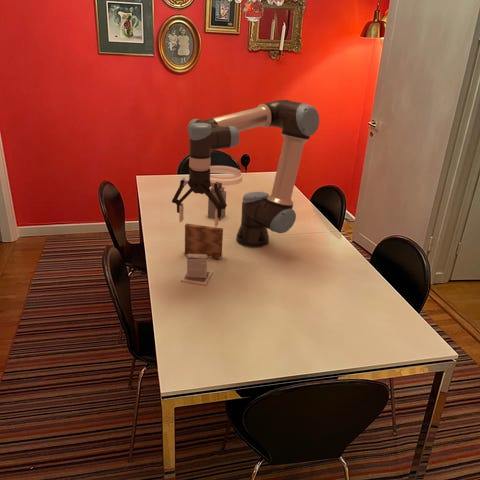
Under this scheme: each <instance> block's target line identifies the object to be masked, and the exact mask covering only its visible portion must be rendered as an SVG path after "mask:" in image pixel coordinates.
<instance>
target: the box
mask: <svg viewBox="0 0 480 480" xmlns="http://www.w3.org/2000/svg"><path fill="white" fill-rule="evenodd" d="M186 271H187V277H188V278H207V271H208V256H207V254H188V255H186Z"/></svg>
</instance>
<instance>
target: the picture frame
mask: <svg viewBox="0 0 480 480" xmlns="http://www.w3.org/2000/svg"><path fill="white" fill-rule="evenodd" d="M212 275H213V271H211V270H207V278H188V277H187V270H186V271H185V273H184V275H182V278H180V282H182V283H187V284H196V285H201V286H202V285H203V286H207V284H208V282H209V280H210V278H211V277H212Z"/></svg>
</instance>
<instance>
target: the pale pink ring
mask: <svg viewBox="0 0 480 480" xmlns="http://www.w3.org/2000/svg"><path fill="white" fill-rule="evenodd" d="M209 169H210V174H216V173H217V174H218V173H219V174H227V175H233V176H215V175H210V182H211V183H216V182H218V183H222V187H225V186H233V185H237V184H240V183H242V182H243V174H242V171H241V170H240V169H239V168H236V167H233V166H228V165H210V168H209Z"/></svg>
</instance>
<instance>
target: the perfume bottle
mask: <svg viewBox="0 0 480 480" xmlns="http://www.w3.org/2000/svg"><path fill="white" fill-rule="evenodd" d="M219 189H220V191H221V193H222V195H223V198H224V200H225V202H227V191H226V190H225V186H222V183H219ZM210 190H211V192H212V194H213V195H214V196H215V197H216V199H217V200H218V197H217V195H216V193H215V190H214V189H213V188H212V187H210ZM207 198H208V197H207ZM218 201H219V200H218ZM207 203H208V204H207V205H208V206H207V218H208V219H212V220H215V210H216V207H215V205H214V204H213V203H212V202H211V200H210V199H209V198H208V201H207ZM219 203H220V202H219ZM226 208H227V207H226ZM226 208H225V209H222V212H221V217H220V218H219V221H220V220H222V219H223V218H225V216H226V210H227V209H226Z"/></svg>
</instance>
